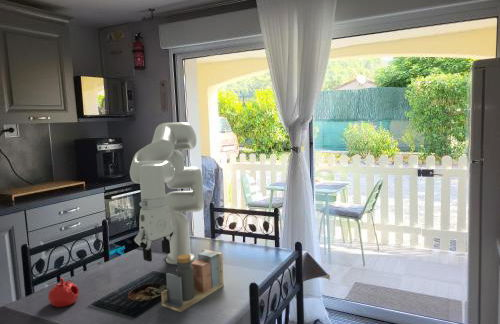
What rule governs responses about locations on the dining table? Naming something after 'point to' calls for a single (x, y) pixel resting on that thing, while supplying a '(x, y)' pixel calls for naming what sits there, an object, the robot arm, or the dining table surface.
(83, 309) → the dining table surface
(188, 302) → the rack
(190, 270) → the bottle
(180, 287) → the bookend
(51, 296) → the pomegranate
